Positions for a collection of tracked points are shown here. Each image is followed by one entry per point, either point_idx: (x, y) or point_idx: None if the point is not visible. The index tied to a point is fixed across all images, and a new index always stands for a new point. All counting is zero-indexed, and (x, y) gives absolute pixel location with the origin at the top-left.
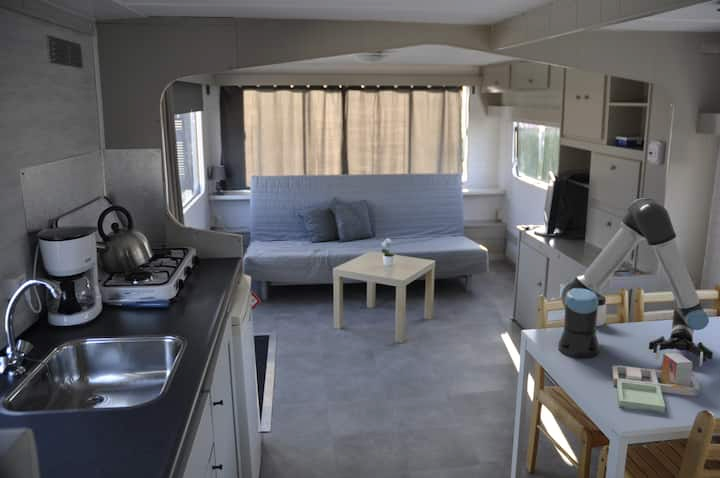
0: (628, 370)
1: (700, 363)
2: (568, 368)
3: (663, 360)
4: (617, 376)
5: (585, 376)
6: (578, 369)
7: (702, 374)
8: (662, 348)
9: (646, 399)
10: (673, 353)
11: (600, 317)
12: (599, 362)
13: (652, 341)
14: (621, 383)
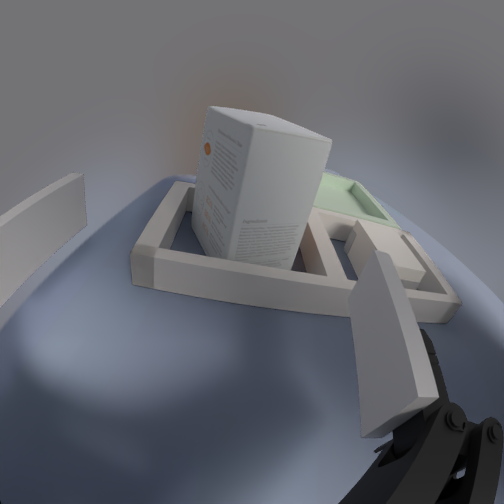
0: (406, 250)
1: (82, 208)
2: (500, 312)
3: (318, 174)
4: (410, 241)
5: (462, 283)
6: (490, 313)
7: (37, 350)
8: (350, 501)
9: (317, 194)
10: (284, 129)
11: None
12: (495, 375)
13: (494, 482)
14: (385, 216)
